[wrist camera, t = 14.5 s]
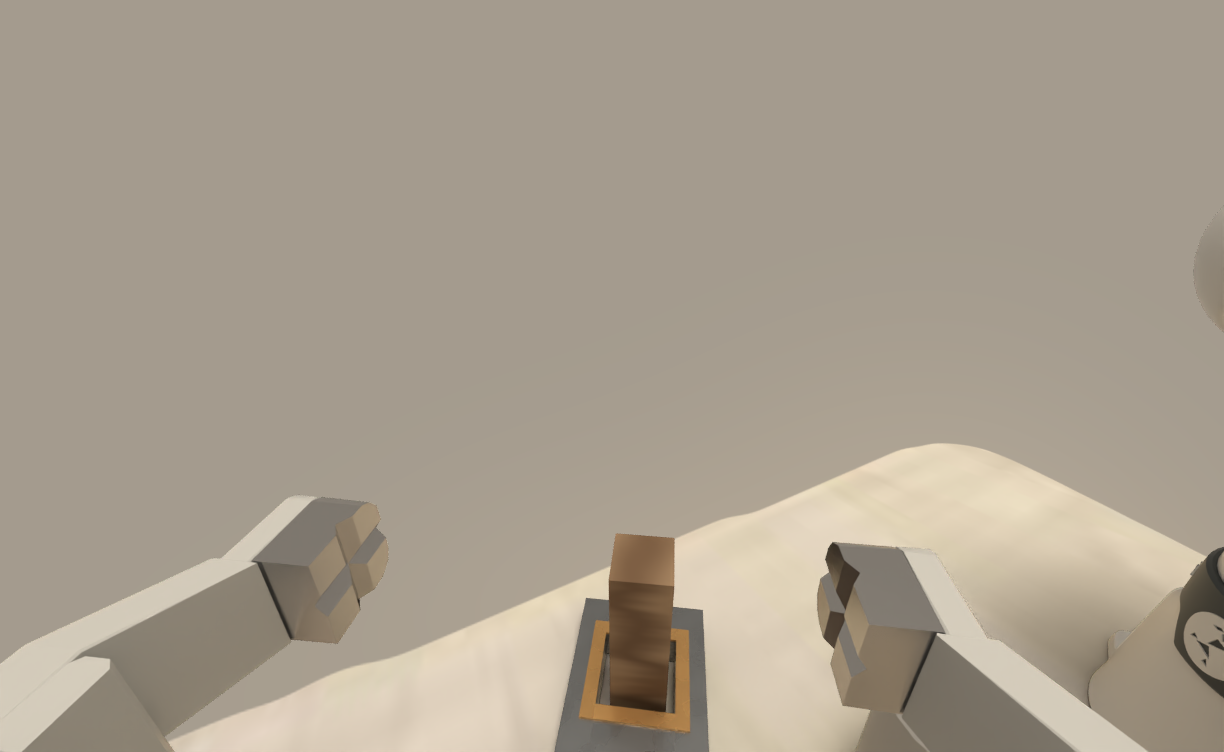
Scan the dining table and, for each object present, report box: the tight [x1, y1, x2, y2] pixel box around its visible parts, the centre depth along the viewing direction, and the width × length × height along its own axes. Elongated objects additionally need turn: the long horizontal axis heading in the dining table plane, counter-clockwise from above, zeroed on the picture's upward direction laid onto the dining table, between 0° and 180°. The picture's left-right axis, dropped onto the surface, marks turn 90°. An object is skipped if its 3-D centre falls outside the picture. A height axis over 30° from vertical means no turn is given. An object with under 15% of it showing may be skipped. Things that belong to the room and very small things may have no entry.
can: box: [855, 710, 930, 752], centre depth 29 cm, size 8×8×12 cm
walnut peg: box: [609, 534, 674, 712], centre depth 35 cm, size 4×4×14 cm
